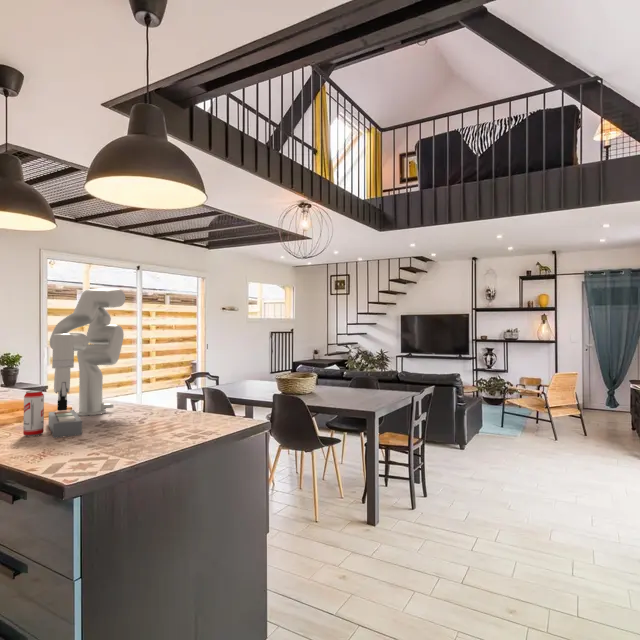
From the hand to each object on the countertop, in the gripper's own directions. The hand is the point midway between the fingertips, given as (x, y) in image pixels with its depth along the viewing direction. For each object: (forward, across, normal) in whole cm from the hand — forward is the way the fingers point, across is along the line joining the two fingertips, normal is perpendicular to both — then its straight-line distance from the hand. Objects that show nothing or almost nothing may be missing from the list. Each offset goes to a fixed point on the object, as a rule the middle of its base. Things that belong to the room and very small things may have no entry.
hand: (62, 410), depth 180 cm
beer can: (+7, +12, -10) cm, 17 cm away
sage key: (+3, +8, 0) cm, 8 cm away
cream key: (+3, +16, 0) cm, 16 cm away
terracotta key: (+3, 0, 0) cm, 3 cm away
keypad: (+6, +8, 0) cm, 10 cm away
